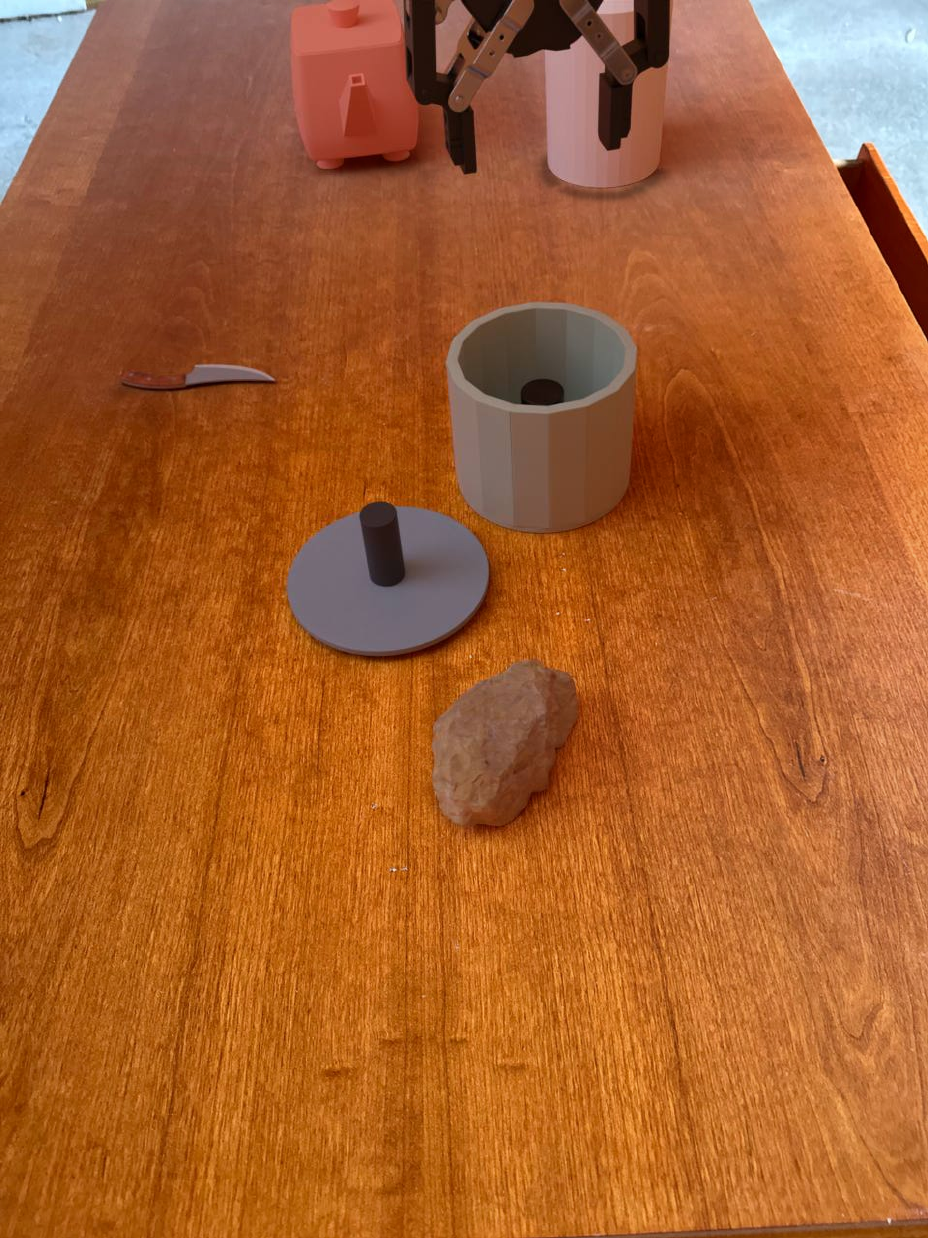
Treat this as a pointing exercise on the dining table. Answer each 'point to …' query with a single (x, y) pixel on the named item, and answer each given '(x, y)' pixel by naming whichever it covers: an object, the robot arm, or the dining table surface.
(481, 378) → the processor bowl
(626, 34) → the bottle
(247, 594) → the dining table surface
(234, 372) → the knife
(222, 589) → the dining table surface
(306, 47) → the teapot
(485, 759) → the stone tool
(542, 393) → the blade unit
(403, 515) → the lid
